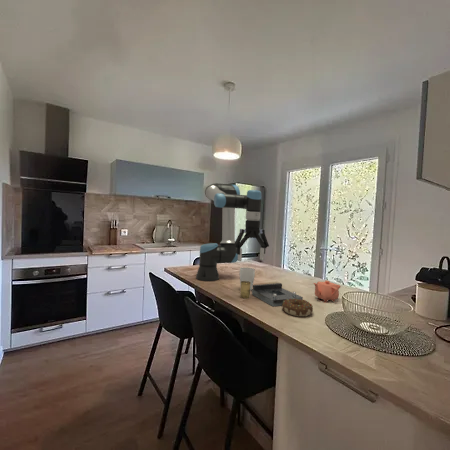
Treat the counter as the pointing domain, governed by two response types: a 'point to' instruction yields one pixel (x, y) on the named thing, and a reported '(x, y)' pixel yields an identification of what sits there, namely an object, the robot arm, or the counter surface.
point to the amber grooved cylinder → (245, 289)
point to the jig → (273, 294)
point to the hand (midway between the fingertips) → (250, 260)
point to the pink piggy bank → (327, 291)
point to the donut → (297, 307)
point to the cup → (247, 275)
